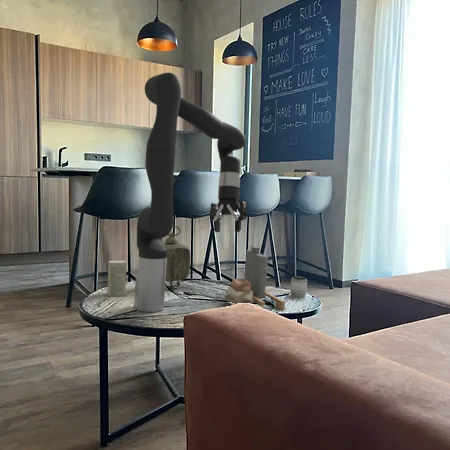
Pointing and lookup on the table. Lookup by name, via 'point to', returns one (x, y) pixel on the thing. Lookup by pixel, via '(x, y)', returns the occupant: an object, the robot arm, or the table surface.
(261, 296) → the hip flask
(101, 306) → the table surface
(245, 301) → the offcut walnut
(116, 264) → the skincare box
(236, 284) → the offcut cherry
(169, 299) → the table surface
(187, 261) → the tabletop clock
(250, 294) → the offcut ash
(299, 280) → the camera lens
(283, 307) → the slot rack
